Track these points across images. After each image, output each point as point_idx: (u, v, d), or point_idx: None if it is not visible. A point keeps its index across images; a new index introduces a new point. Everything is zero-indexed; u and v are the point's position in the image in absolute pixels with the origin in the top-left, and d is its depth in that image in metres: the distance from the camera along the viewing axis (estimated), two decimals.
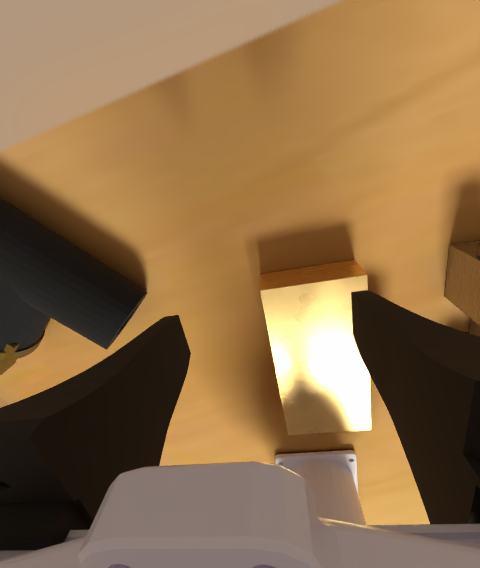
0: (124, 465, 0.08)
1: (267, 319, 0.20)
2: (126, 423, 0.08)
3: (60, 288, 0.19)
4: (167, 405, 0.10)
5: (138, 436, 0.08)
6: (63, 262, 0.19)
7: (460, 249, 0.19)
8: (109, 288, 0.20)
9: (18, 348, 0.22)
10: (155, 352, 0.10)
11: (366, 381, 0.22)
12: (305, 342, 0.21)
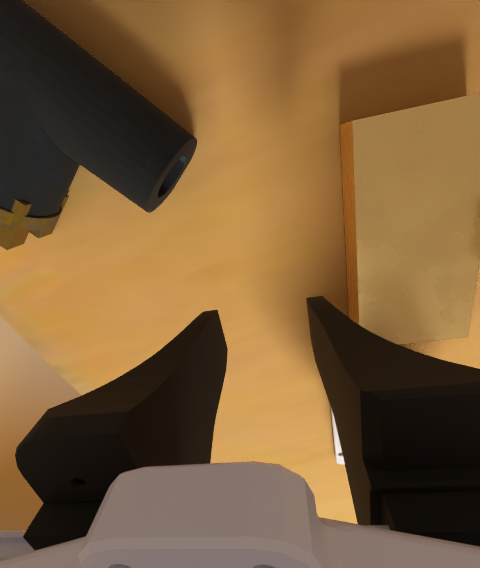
0: (186, 462, 0.07)
1: (356, 168, 0.15)
2: (185, 419, 0.08)
3: (91, 98, 0.14)
4: (213, 401, 0.10)
5: (194, 432, 0.08)
6: (94, 69, 0.14)
7: None
8: (154, 113, 0.15)
9: (30, 212, 0.17)
10: (202, 347, 0.10)
11: (474, 262, 0.17)
12: (403, 204, 0.16)
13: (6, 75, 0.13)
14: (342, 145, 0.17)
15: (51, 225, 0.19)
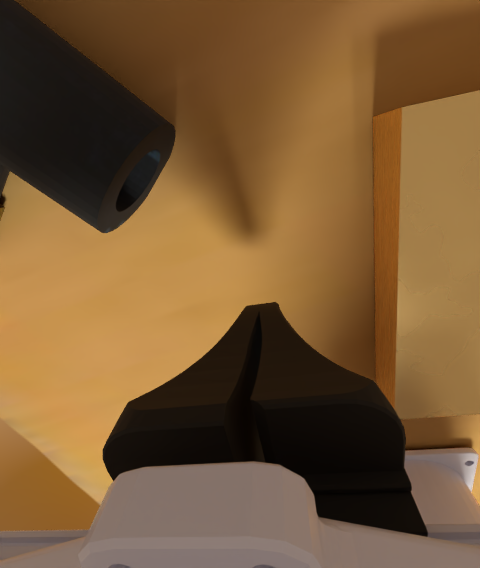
0: (257, 458, 0.07)
1: (403, 180, 0.10)
2: (253, 413, 0.07)
3: None
4: None
5: None
6: (4, 10, 0.09)
7: None
8: (104, 84, 0.09)
9: None
10: (255, 341, 0.09)
11: None
12: (470, 232, 0.11)
13: None
14: (377, 145, 0.12)
15: None
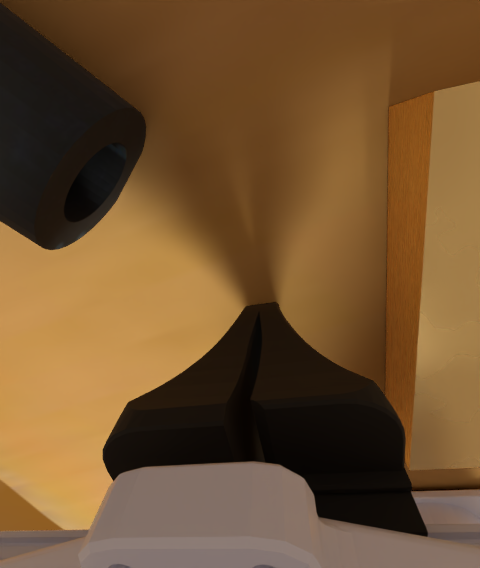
0: (257, 458, 0.07)
1: (432, 188, 0.08)
2: (252, 413, 0.07)
3: None
4: None
5: None
6: None
7: None
8: (37, 51, 0.07)
9: None
10: (255, 341, 0.09)
11: None
12: None
13: None
14: (394, 143, 0.09)
15: None
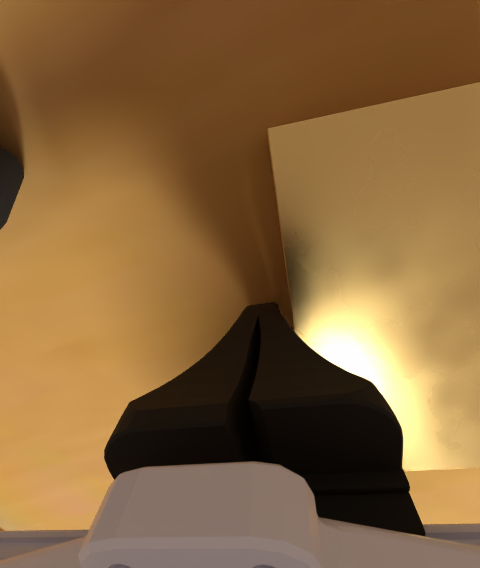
0: (258, 458, 0.07)
1: (283, 215, 0.08)
2: None
3: None
4: None
5: None
6: None
7: None
8: None
9: None
10: (256, 341, 0.09)
11: None
12: (371, 276, 0.09)
13: None
14: None
15: None
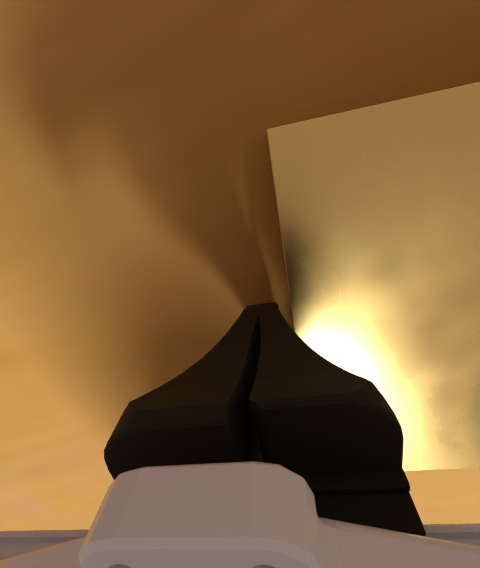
0: (258, 458, 0.07)
1: (283, 215, 0.08)
2: None
3: None
4: None
5: None
6: None
7: None
8: None
9: None
10: (256, 340, 0.09)
11: None
12: (370, 276, 0.09)
13: None
14: (271, 168, 0.10)
15: None
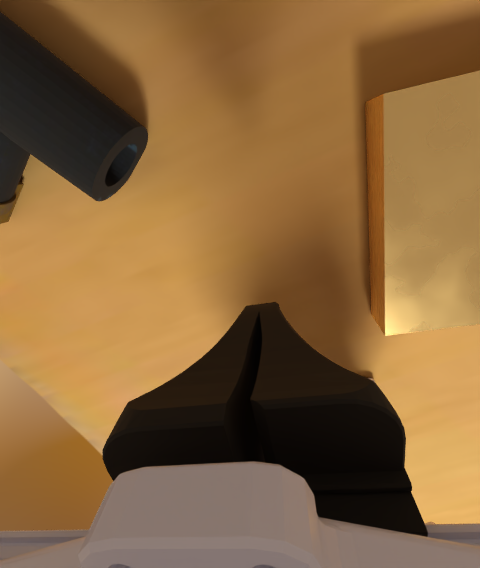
0: (257, 458, 0.07)
1: (386, 144, 0.15)
2: (253, 413, 0.07)
3: (29, 82, 0.13)
4: None
5: None
6: (35, 53, 0.14)
7: None
8: (97, 100, 0.15)
9: None
10: (255, 341, 0.09)
11: None
12: (434, 182, 0.15)
13: None
14: (368, 123, 0.16)
15: (3, 212, 0.19)
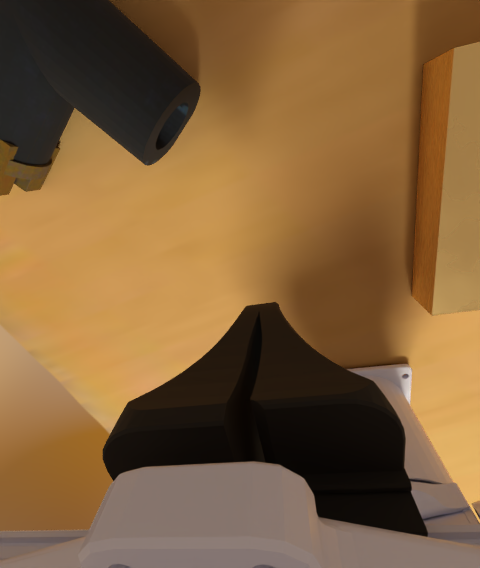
0: (257, 458, 0.07)
1: (452, 105, 0.14)
2: (253, 413, 0.07)
3: (87, 24, 0.12)
4: None
5: None
6: None
7: None
8: (156, 50, 0.14)
9: (16, 157, 0.16)
10: (255, 341, 0.09)
11: None
12: None
13: None
14: (426, 86, 0.16)
15: (39, 176, 0.17)
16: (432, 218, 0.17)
